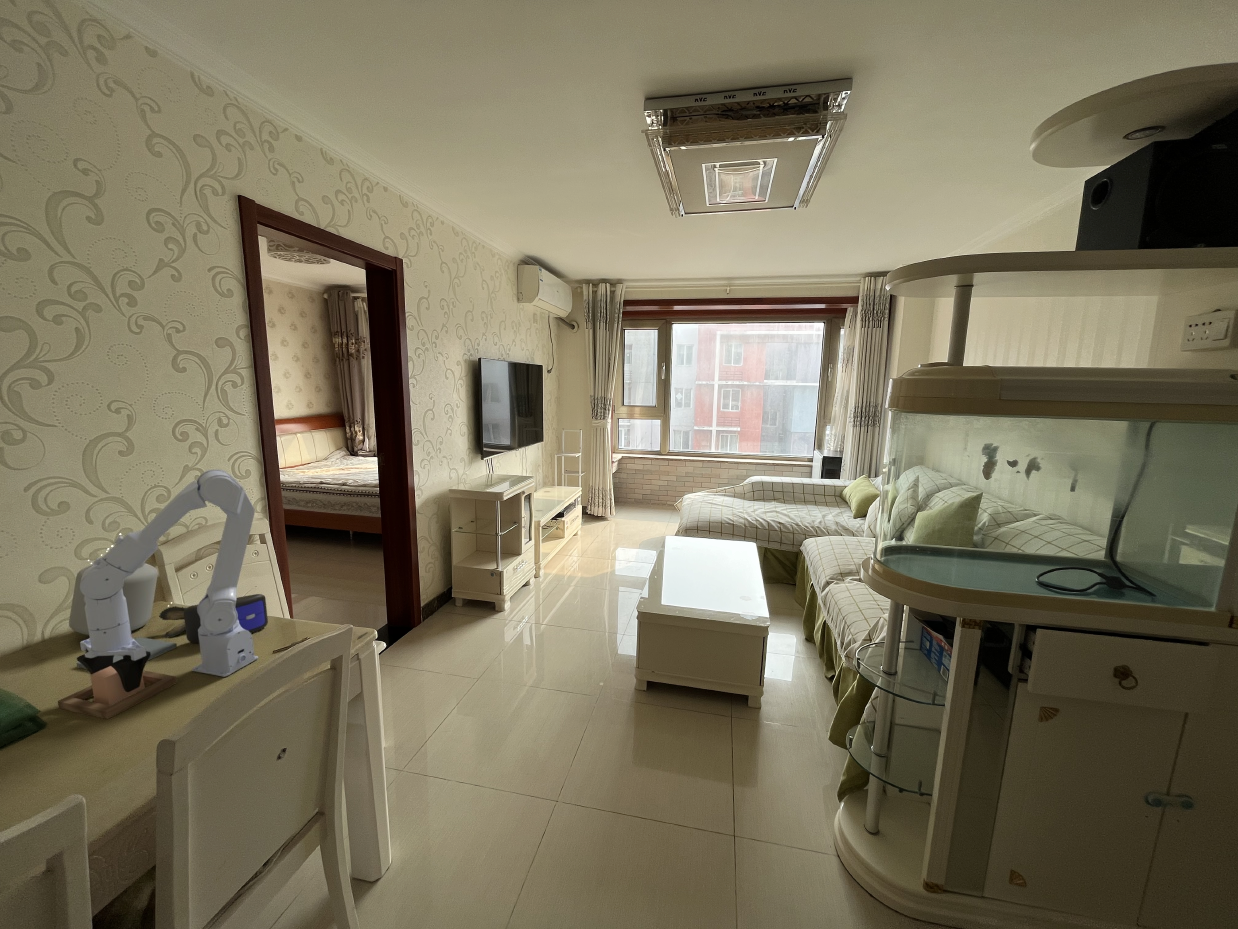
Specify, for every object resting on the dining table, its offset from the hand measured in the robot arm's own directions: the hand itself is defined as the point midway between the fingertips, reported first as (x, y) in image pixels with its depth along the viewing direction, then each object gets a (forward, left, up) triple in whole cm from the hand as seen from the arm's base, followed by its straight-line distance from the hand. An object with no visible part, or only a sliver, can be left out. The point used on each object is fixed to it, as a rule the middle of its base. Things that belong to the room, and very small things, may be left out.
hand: (118, 686), depth 101 cm
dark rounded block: (+3, -25, -2) cm, 25 cm away
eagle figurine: (+16, -24, -2) cm, 29 cm away
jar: (+32, -21, -2) cm, 38 cm away
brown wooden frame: (0, 0, -2) cm, 2 cm away
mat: (+15, -11, -2) cm, 19 cm away
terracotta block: (0, 0, -2) cm, 2 cm away
